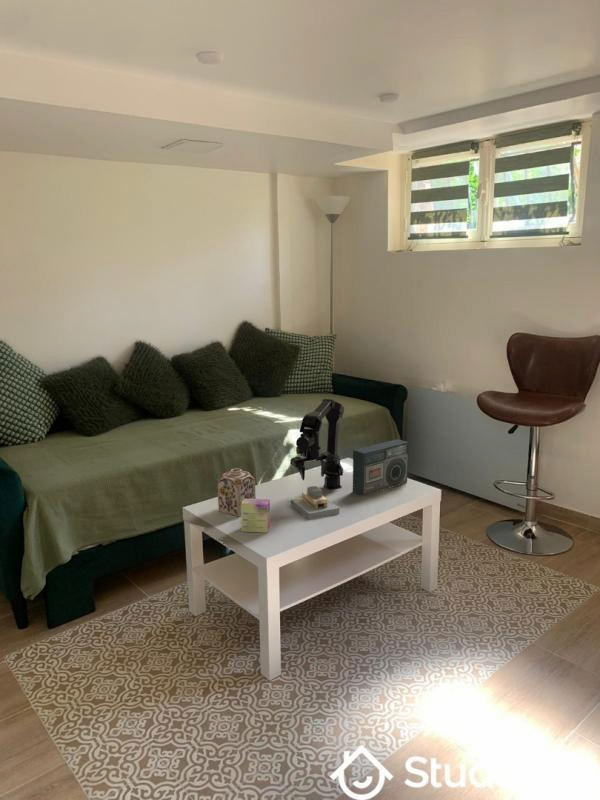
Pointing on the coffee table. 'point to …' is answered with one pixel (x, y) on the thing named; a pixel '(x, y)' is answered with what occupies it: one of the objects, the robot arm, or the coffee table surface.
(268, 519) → the box
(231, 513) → the decorative jar
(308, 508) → the dock
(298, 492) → the coffee table surface
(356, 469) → the cassette player
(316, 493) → the gray rectangular block
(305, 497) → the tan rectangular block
